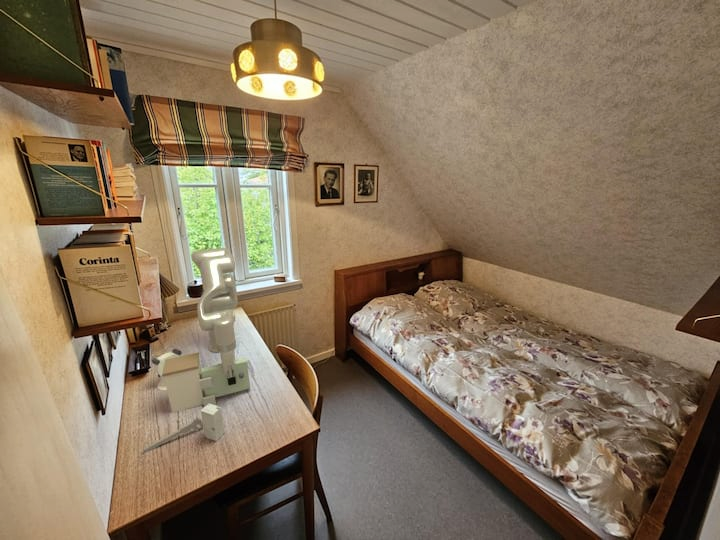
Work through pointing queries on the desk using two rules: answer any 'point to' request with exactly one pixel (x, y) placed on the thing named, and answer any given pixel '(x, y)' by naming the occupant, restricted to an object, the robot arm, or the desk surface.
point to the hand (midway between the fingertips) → (232, 381)
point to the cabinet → (186, 383)
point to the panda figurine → (160, 365)
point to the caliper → (175, 434)
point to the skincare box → (212, 422)
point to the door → (221, 380)
